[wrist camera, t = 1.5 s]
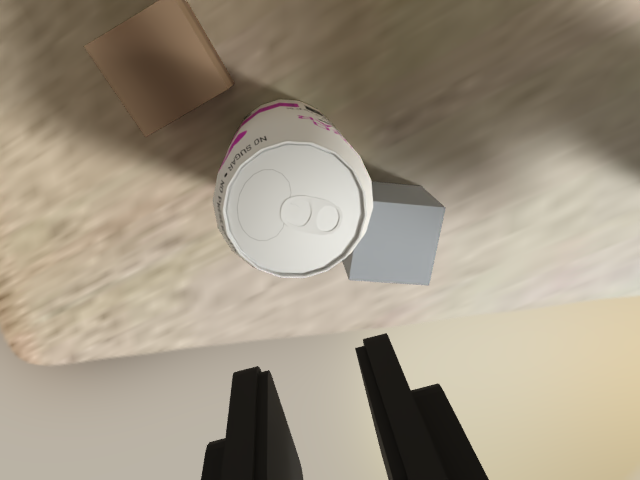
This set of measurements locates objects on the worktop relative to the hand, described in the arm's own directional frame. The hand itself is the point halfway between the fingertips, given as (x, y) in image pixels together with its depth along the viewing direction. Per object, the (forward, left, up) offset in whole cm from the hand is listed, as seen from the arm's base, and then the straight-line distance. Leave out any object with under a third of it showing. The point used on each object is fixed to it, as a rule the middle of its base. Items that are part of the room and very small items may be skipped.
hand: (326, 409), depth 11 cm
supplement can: (0, 0, -29) cm, 29 cm away
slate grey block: (-6, +7, -29) cm, 31 cm away
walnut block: (+6, -8, -29) cm, 31 cm away
